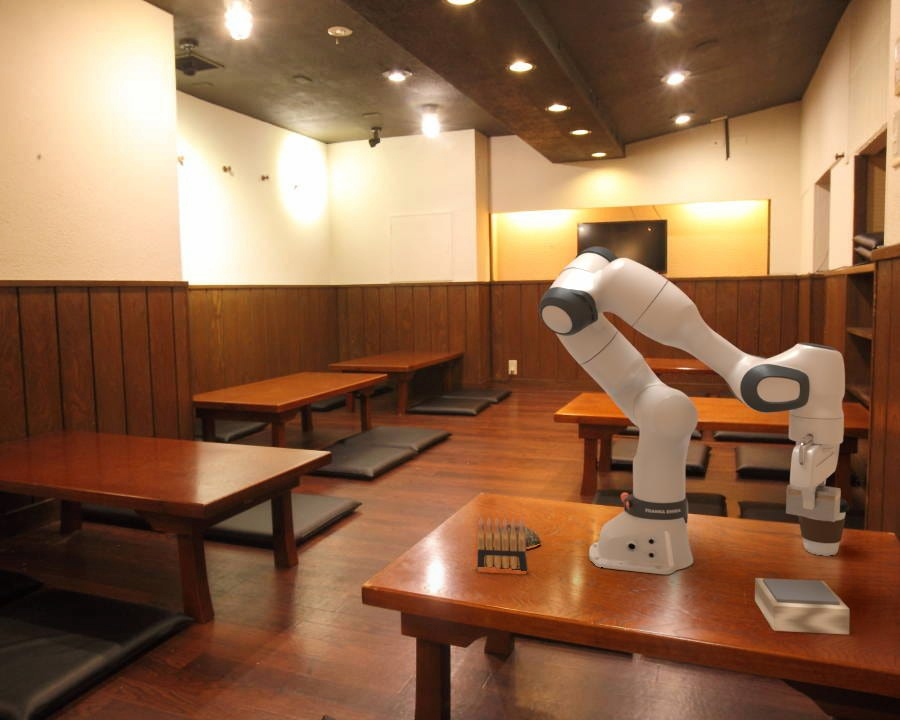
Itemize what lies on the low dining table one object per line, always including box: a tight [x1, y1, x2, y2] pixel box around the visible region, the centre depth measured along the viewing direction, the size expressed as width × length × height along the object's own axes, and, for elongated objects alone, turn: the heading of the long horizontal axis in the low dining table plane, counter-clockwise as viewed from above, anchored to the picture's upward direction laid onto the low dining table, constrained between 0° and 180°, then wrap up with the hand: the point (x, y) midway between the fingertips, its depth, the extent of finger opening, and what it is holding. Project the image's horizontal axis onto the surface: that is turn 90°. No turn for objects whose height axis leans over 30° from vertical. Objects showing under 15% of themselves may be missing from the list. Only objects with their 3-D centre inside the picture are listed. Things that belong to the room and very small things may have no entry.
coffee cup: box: [797, 496, 850, 557], centre depth 152 cm, size 11×11×12 cm
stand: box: [754, 577, 850, 635], centre depth 121 cm, size 12×12×5 cm
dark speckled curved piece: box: [492, 523, 542, 548], centre depth 163 cm, size 13×12×5 cm
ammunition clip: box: [476, 516, 528, 571], centre depth 146 cm, size 11×2×12 cm, turn 79°
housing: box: [785, 483, 842, 522], centre depth 126 cm, size 4×8×5 cm, turn 50°
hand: (813, 504), depth 126 cm, fingers closed on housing, 4 cm apart
